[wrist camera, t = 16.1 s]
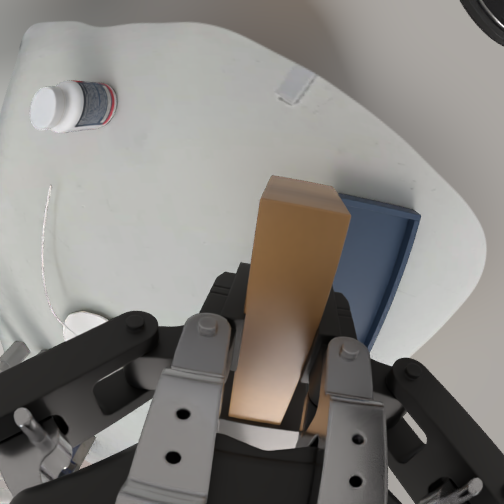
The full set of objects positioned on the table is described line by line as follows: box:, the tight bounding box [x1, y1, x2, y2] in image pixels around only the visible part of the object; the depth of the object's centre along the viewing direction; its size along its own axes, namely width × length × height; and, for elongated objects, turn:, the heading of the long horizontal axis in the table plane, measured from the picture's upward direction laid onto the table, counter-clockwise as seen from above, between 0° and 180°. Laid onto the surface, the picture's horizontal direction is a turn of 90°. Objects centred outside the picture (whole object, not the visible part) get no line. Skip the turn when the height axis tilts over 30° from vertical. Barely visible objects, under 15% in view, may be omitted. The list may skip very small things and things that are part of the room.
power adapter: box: [0, 341, 30, 373], centre depth 42 cm, size 3×5×12 cm, turn 102°
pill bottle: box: [30, 80, 117, 133], centre depth 21 cm, size 5×5×9 cm
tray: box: [333, 193, 421, 353], centre depth 29 cm, size 18×8×2 cm, turn 174°
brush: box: [218, 175, 351, 451], centre depth 11 cm, size 14×4×4 cm, turn 172°
